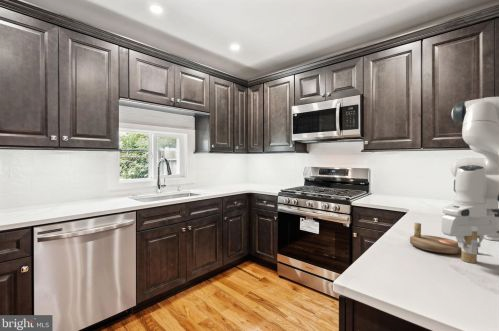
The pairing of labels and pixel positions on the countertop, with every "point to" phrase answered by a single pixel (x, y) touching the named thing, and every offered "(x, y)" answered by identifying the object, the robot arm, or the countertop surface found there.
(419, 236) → the wooden peg stand
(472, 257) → the sprinkles bottle
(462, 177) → the robot arm
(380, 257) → the countertop surface
